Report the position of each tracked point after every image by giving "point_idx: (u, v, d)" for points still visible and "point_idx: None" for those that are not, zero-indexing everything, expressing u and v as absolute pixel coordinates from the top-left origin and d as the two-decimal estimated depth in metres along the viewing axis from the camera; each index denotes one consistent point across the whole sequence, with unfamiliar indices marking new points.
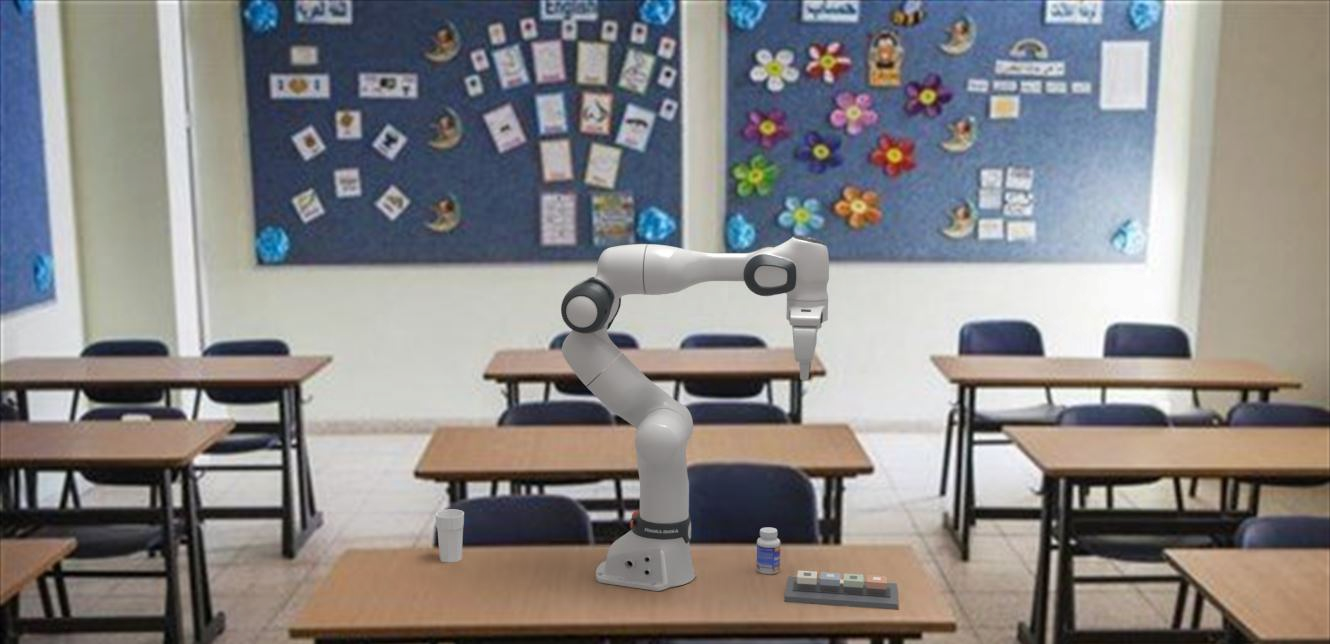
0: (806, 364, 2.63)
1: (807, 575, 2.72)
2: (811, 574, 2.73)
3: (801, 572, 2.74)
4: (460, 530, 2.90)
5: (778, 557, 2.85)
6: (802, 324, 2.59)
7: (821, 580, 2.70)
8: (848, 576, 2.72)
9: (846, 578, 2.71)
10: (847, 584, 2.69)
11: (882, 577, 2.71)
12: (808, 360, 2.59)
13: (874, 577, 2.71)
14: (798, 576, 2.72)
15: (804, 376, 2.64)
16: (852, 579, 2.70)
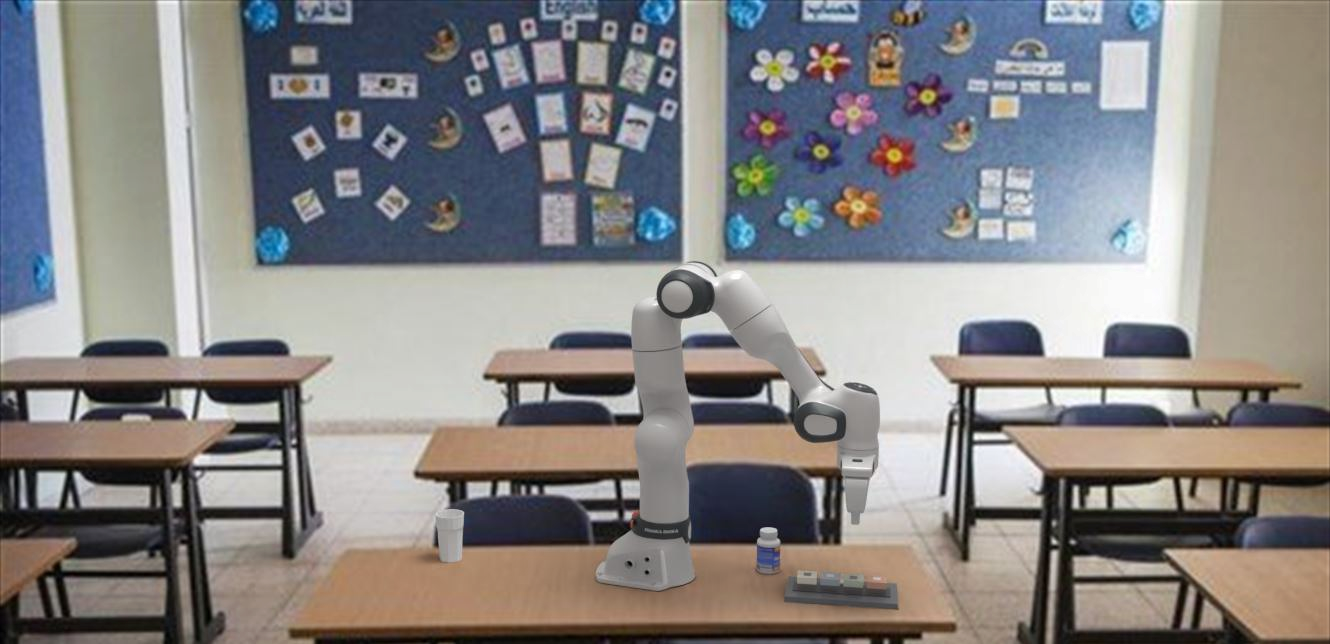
0: None
1: (807, 575, 2.72)
2: (811, 574, 2.73)
3: (801, 572, 2.74)
4: (460, 530, 2.90)
5: (778, 557, 2.85)
6: (854, 475, 2.59)
7: (821, 580, 2.70)
8: (848, 576, 2.72)
9: (846, 578, 2.71)
10: (847, 584, 2.69)
11: (882, 577, 2.71)
12: (860, 511, 2.59)
13: (874, 577, 2.71)
14: (798, 576, 2.72)
15: (855, 521, 2.66)
16: (852, 579, 2.70)
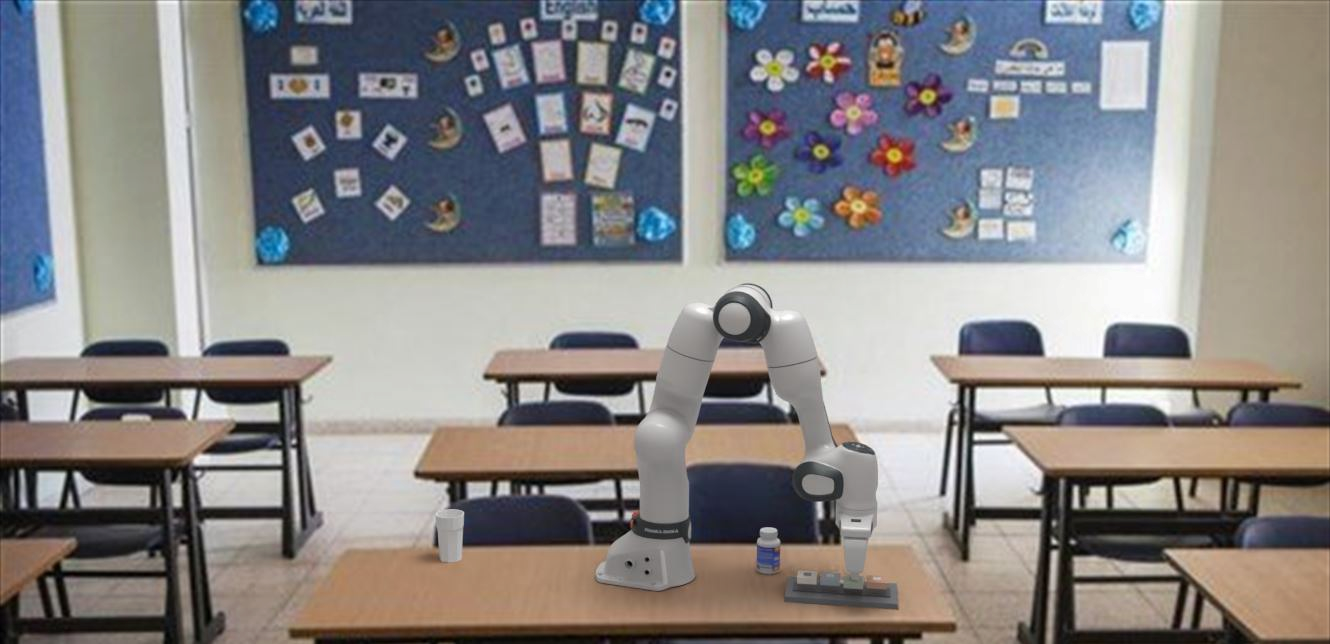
0: None
1: (807, 575, 2.72)
2: (811, 574, 2.73)
3: (801, 572, 2.74)
4: (460, 530, 2.90)
5: (778, 557, 2.85)
6: (853, 536, 2.61)
7: (821, 580, 2.70)
8: (848, 577, 2.72)
9: (846, 579, 2.71)
10: (847, 585, 2.70)
11: (882, 577, 2.71)
12: (859, 572, 2.61)
13: (874, 577, 2.71)
14: (798, 576, 2.72)
15: (855, 577, 2.70)
16: (852, 580, 2.70)
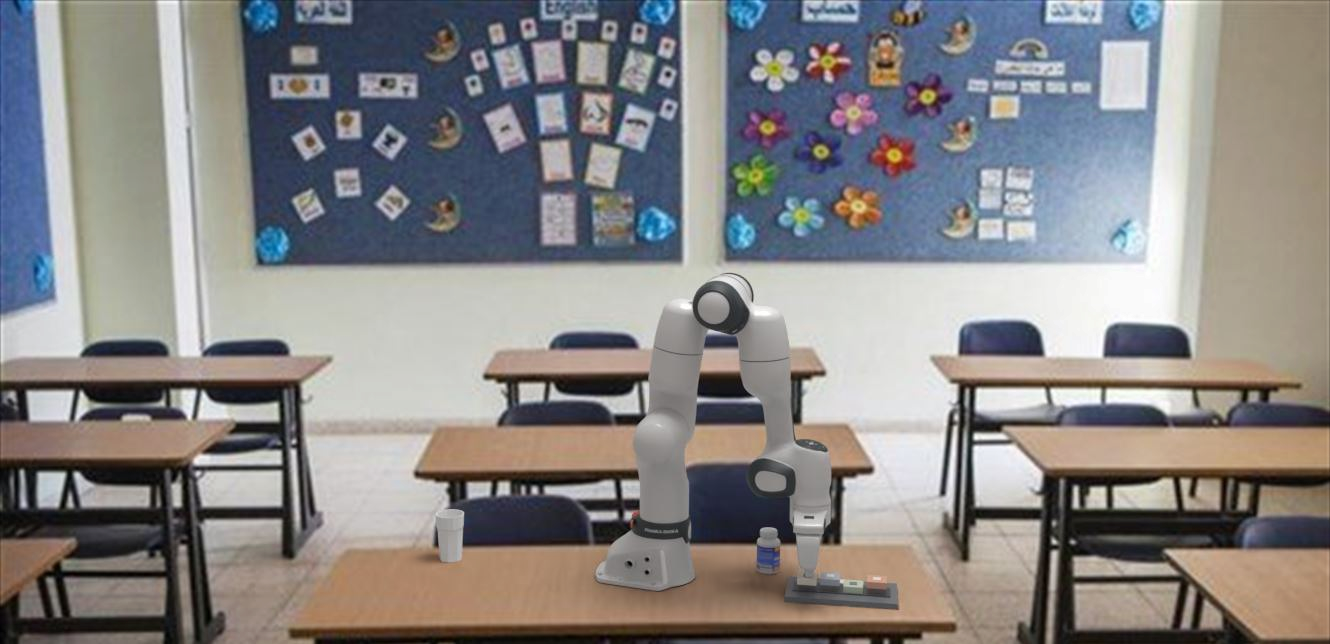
0: None
1: None
2: None
3: (801, 573, 2.74)
4: (460, 530, 2.90)
5: (778, 557, 2.85)
6: (805, 532, 2.62)
7: (821, 580, 2.70)
8: (848, 582, 2.72)
9: (845, 584, 2.71)
10: (847, 590, 2.70)
11: (882, 577, 2.71)
12: (812, 568, 2.62)
13: (874, 577, 2.71)
14: (798, 577, 2.72)
15: (809, 573, 2.71)
16: (852, 585, 2.70)
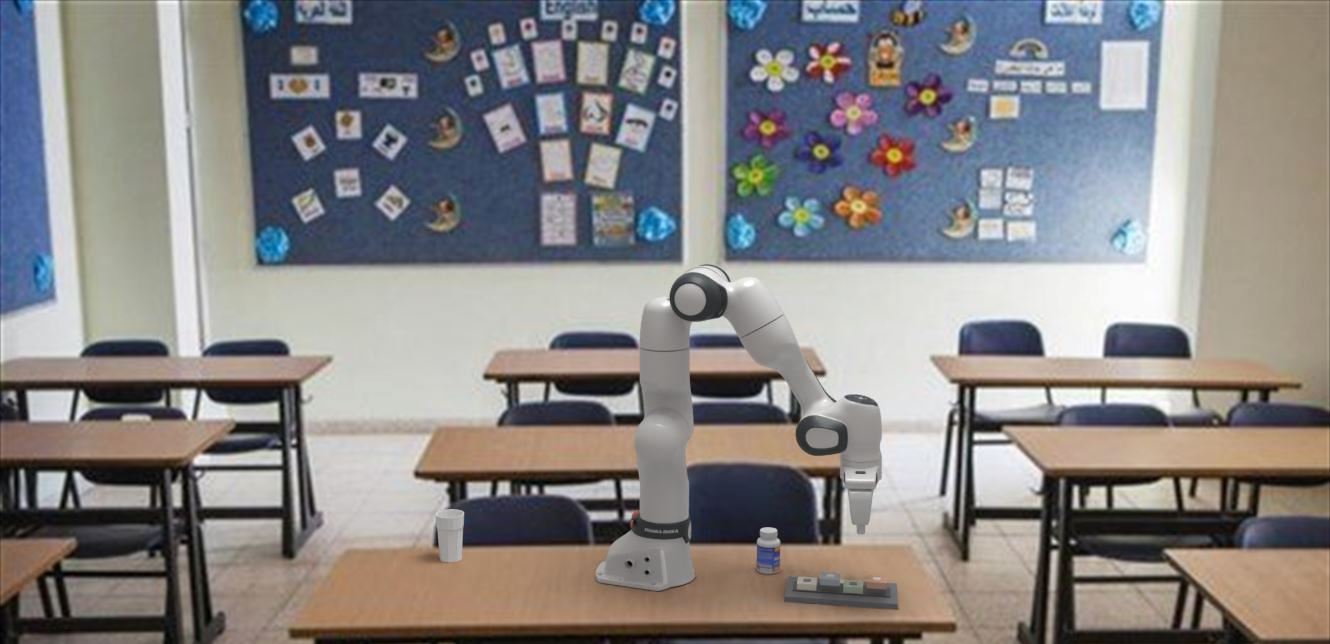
0: None
1: (807, 581, 2.72)
2: (811, 580, 2.73)
3: (801, 578, 2.74)
4: (460, 530, 2.90)
5: (778, 557, 2.85)
6: (857, 487, 2.59)
7: (821, 580, 2.70)
8: (848, 582, 2.72)
9: (845, 584, 2.71)
10: (847, 590, 2.70)
11: (882, 577, 2.71)
12: (865, 523, 2.59)
13: (874, 577, 2.71)
14: (798, 582, 2.72)
15: (861, 530, 2.68)
16: (852, 585, 2.70)
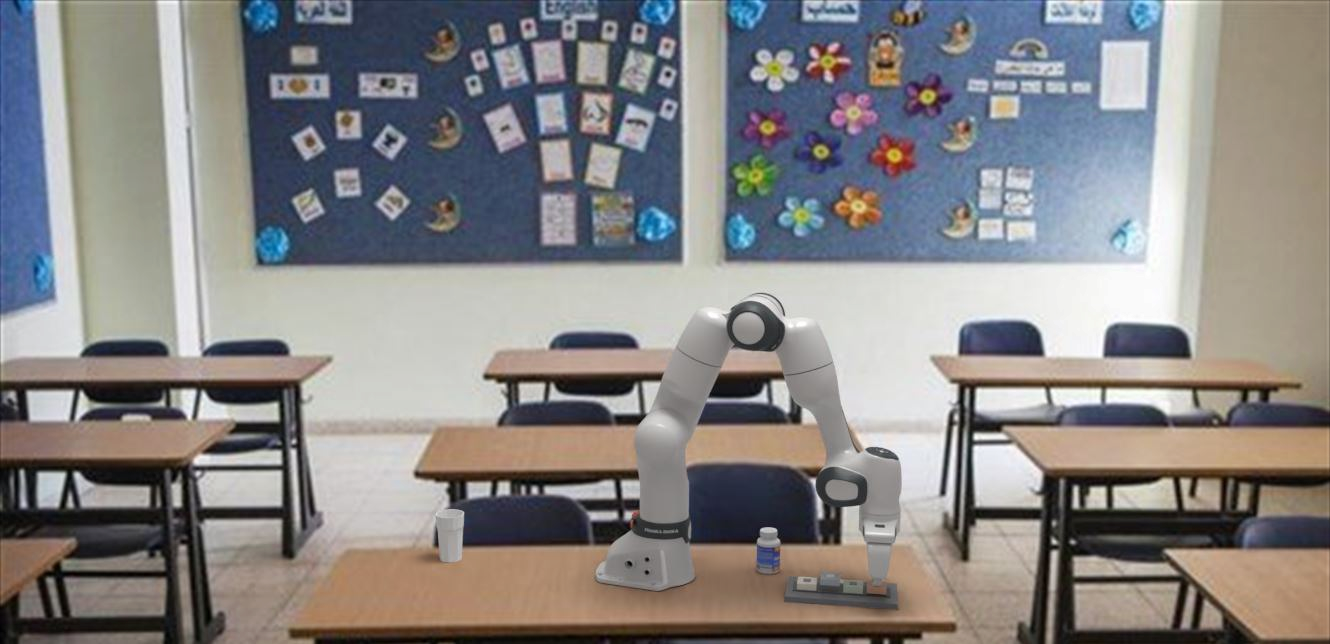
0: None
1: (807, 581, 2.72)
2: (811, 580, 2.73)
3: (801, 578, 2.74)
4: (460, 530, 2.90)
5: (778, 557, 2.85)
6: (877, 541, 2.60)
7: (821, 580, 2.70)
8: (848, 582, 2.72)
9: (845, 584, 2.71)
10: (847, 590, 2.70)
11: (882, 582, 2.71)
12: (883, 577, 2.60)
13: None
14: (798, 582, 2.72)
15: (878, 582, 2.69)
16: (852, 585, 2.70)
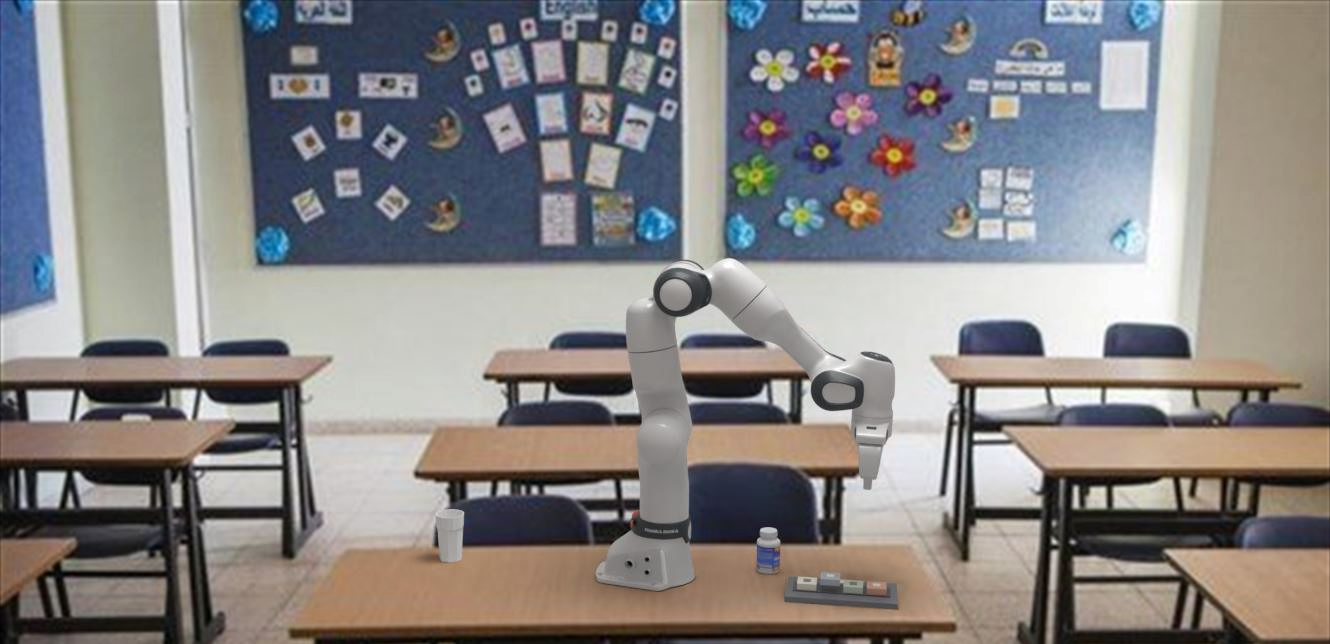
0: None
1: (807, 581, 2.72)
2: (811, 580, 2.73)
3: (801, 578, 2.74)
4: (460, 530, 2.90)
5: (778, 557, 2.85)
6: (868, 442, 2.62)
7: (821, 580, 2.70)
8: (848, 582, 2.72)
9: (845, 584, 2.71)
10: (847, 590, 2.70)
11: (882, 583, 2.72)
12: (873, 478, 2.62)
13: (874, 583, 2.71)
14: (798, 582, 2.72)
15: (867, 486, 2.71)
16: (852, 585, 2.70)
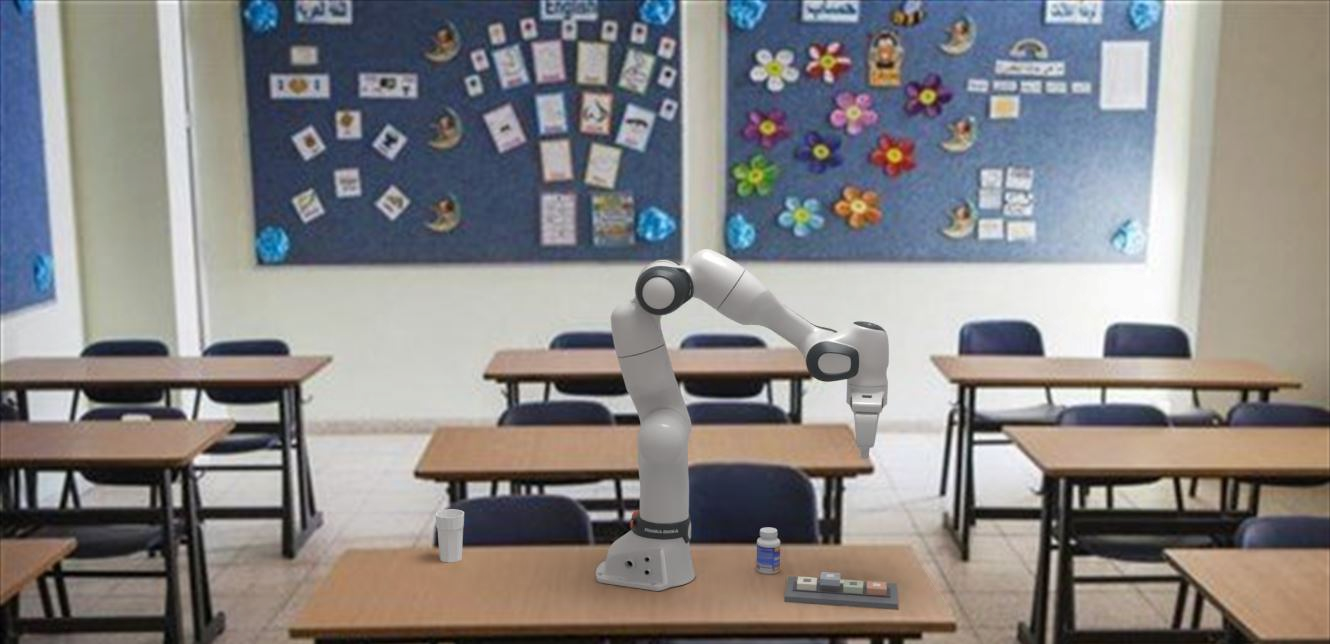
0: None
1: (807, 581, 2.72)
2: (811, 580, 2.73)
3: (801, 578, 2.74)
4: (460, 530, 2.90)
5: (778, 557, 2.85)
6: (864, 410, 2.64)
7: (821, 580, 2.70)
8: (848, 582, 2.72)
9: (845, 584, 2.71)
10: (847, 590, 2.70)
11: (882, 583, 2.72)
12: (870, 446, 2.64)
13: (874, 583, 2.71)
14: (798, 582, 2.72)
15: (865, 455, 2.73)
16: (852, 585, 2.70)
